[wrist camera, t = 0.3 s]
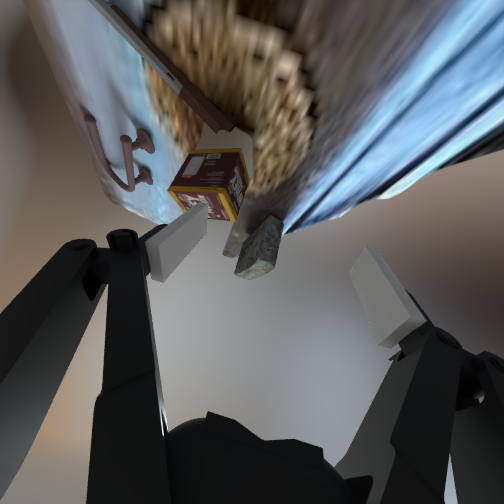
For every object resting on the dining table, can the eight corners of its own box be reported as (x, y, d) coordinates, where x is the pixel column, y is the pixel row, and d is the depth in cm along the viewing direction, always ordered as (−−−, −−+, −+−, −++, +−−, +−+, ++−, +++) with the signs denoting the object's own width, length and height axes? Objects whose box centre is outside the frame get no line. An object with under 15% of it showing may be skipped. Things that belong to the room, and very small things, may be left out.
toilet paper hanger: (71, 86, 41) (131, 149, 44) (101, 81, 45) (155, 140, 48) (98, 167, 65) (136, 204, 68) (117, 160, 68) (152, 195, 71)
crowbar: (2, -121, 24) (-36, -124, 22) (-4, -151, 22) (-47, -158, 20) (230, 132, 43) (222, 144, 41) (235, 126, 42) (228, 138, 39)
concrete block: (259, 242, 90) (249, 281, 81) (243, 235, 87) (231, 274, 79) (291, 218, 66) (281, 268, 58) (270, 207, 64) (257, 258, 56)
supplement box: (250, 180, 55) (236, 222, 48) (205, 179, 59) (187, 217, 53) (242, 147, 46) (223, 193, 39) (190, 149, 50) (165, 191, 44)
